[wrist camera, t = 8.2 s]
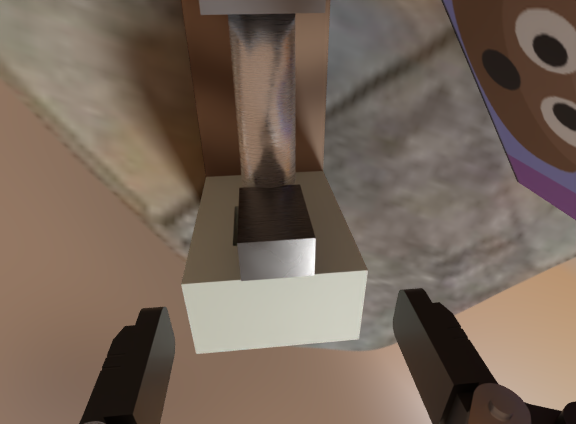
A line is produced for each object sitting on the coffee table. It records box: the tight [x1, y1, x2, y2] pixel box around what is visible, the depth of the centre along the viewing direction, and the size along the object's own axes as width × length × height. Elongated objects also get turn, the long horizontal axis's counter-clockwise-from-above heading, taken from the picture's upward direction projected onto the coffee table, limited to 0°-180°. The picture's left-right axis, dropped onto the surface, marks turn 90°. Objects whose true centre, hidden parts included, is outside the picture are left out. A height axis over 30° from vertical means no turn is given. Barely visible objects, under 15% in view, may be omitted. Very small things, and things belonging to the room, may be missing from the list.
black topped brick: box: [228, 13, 316, 281], centre depth 17 cm, size 16×3×8 cm, turn 1°
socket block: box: [181, 171, 368, 354], centre depth 23 cm, size 5×9×12 cm, turn 91°
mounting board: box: [181, 0, 330, 177], centre depth 20 cm, size 27×9×10 cm, turn 1°
